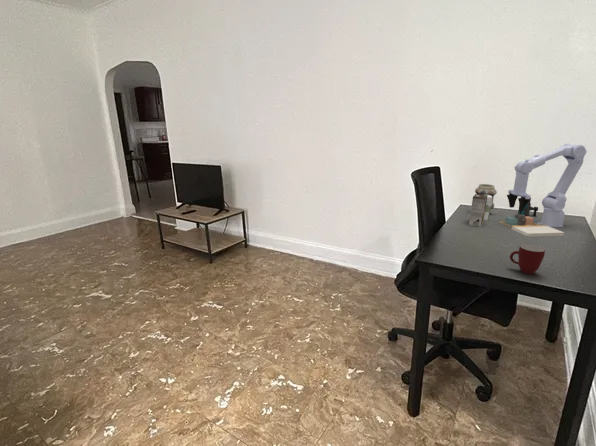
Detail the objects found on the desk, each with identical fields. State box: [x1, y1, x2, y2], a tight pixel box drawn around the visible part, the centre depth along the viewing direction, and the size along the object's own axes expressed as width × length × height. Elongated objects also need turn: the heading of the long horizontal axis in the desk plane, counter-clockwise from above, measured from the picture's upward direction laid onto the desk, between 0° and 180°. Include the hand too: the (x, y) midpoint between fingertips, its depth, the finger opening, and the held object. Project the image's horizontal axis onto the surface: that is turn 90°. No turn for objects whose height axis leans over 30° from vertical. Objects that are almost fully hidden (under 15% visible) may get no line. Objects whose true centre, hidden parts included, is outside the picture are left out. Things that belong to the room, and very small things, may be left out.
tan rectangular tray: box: [498, 214, 540, 228], centre depth 189 cm, size 17×9×6 cm, turn 94°
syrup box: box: [484, 195, 494, 221], centre depth 199 cm, size 6×6×14 cm
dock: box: [511, 224, 565, 238], centre depth 177 cm, size 19×12×2 cm, turn 94°
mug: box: [509, 244, 546, 275], centre depth 131 cm, size 10×8×10 cm
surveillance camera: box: [517, 196, 539, 218], centre depth 206 cm, size 6×12×10 cm
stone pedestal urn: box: [474, 183, 497, 216], centre depth 211 cm, size 12×12×18 cm
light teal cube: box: [504, 216, 518, 225], centre depth 189 cm, size 4×4×4 cm
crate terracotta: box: [524, 215, 535, 225], centre depth 190 cm, size 4×4×4 cm
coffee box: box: [468, 193, 488, 227], centre depth 190 cm, size 9×6×16 cm
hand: (516, 209), depth 187 cm, fingers open, 7 cm apart
